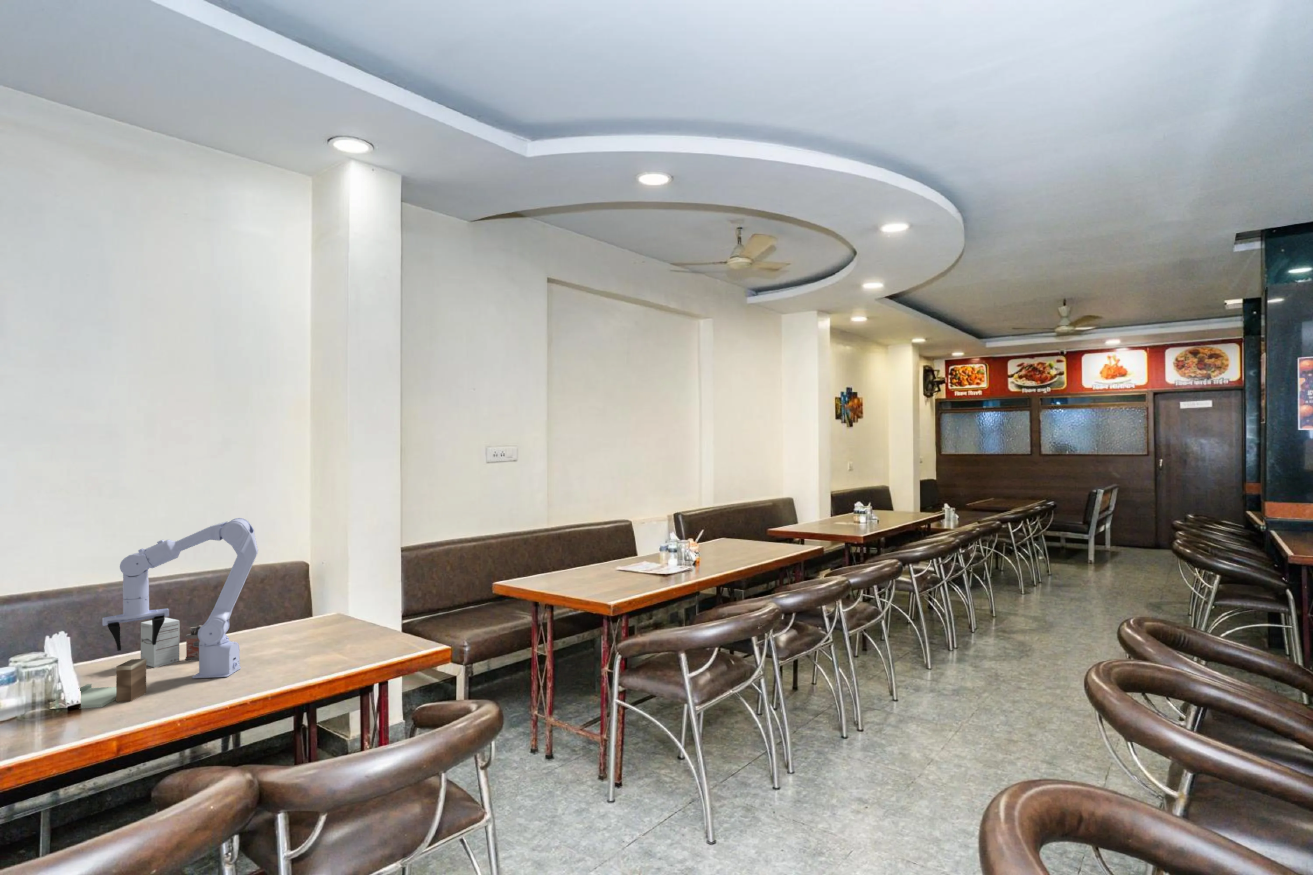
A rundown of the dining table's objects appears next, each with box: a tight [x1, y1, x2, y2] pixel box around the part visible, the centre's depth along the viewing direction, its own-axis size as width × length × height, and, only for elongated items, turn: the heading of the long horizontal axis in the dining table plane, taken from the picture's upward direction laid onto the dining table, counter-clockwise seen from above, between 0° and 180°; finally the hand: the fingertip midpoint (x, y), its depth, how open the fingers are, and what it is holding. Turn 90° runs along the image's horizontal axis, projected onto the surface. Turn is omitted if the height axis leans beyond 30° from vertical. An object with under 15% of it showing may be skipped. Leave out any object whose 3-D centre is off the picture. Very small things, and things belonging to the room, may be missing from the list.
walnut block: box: [115, 658, 147, 703], centre depth 178 cm, size 4×6×9 cm, turn 5°
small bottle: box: [185, 624, 202, 662], centre depth 211 cm, size 8×3×10 cm, turn 105°
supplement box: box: [140, 617, 180, 668], centre depth 207 cm, size 7×7×13 cm
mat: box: [79, 683, 116, 709], centre depth 177 cm, size 12×13×2 cm
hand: (136, 646), depth 189 cm, fingers open, 7 cm apart
